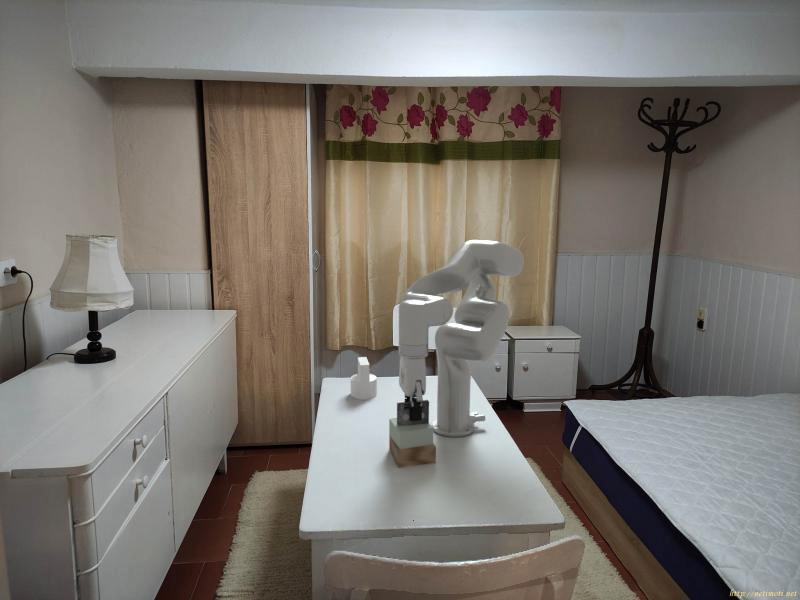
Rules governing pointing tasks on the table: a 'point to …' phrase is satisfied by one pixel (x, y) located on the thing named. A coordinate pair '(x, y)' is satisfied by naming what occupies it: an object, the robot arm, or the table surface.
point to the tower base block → (412, 454)
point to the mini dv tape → (404, 414)
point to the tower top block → (410, 434)
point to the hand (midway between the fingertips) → (413, 415)
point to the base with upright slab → (363, 381)
